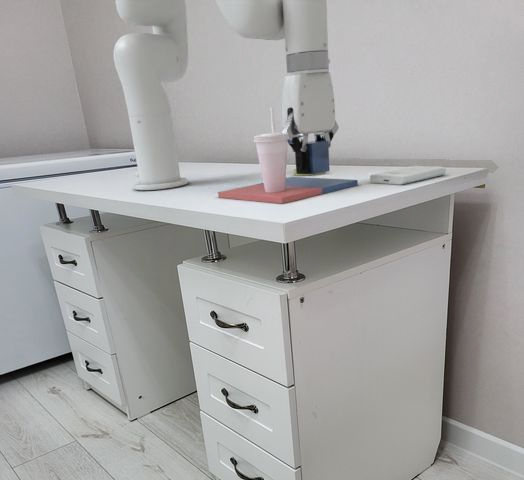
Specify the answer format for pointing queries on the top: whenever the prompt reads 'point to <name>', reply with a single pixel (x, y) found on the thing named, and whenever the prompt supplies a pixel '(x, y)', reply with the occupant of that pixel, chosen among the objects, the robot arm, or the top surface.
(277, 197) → the board
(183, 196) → the top surface
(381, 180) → the hard drive
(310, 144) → the blue block
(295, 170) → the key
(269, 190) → the smoothie
